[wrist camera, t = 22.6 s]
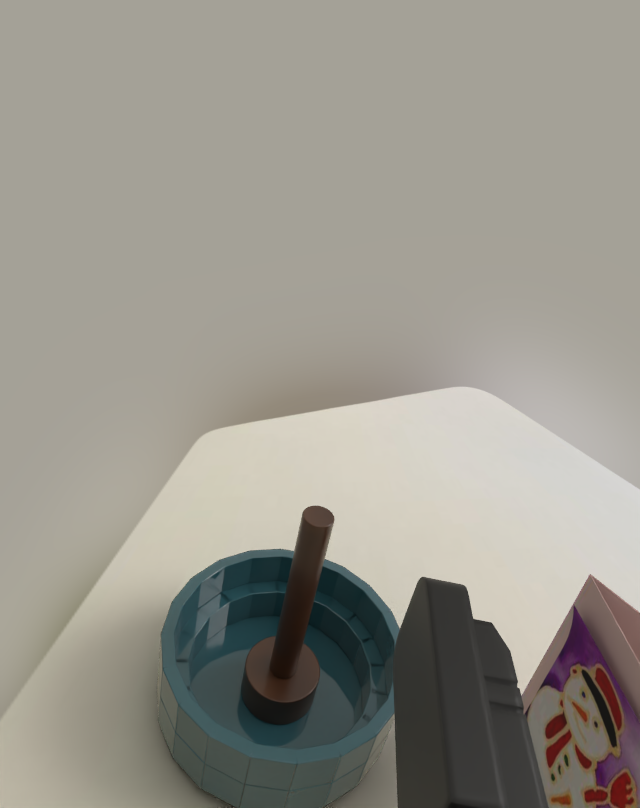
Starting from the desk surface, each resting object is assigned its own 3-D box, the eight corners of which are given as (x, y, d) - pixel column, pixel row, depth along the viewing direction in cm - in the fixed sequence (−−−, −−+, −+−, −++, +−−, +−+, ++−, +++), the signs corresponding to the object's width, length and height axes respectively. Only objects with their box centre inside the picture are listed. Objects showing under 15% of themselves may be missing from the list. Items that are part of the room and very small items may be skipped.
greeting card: (492, 725, 41) (575, 572, 34) (591, 736, 42) (693, 588, 35) (548, 933, 31) (683, 777, 24) (677, 943, 32) (846, 795, 25)
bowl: (161, 848, 31) (167, 787, 28) (153, 613, 44) (157, 555, 41) (421, 793, 36) (448, 737, 33) (346, 597, 49) (361, 543, 46)
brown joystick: (247, 731, 37) (284, 551, 29) (235, 661, 41) (266, 488, 33) (322, 719, 38) (375, 545, 31) (304, 653, 42) (347, 486, 35)
